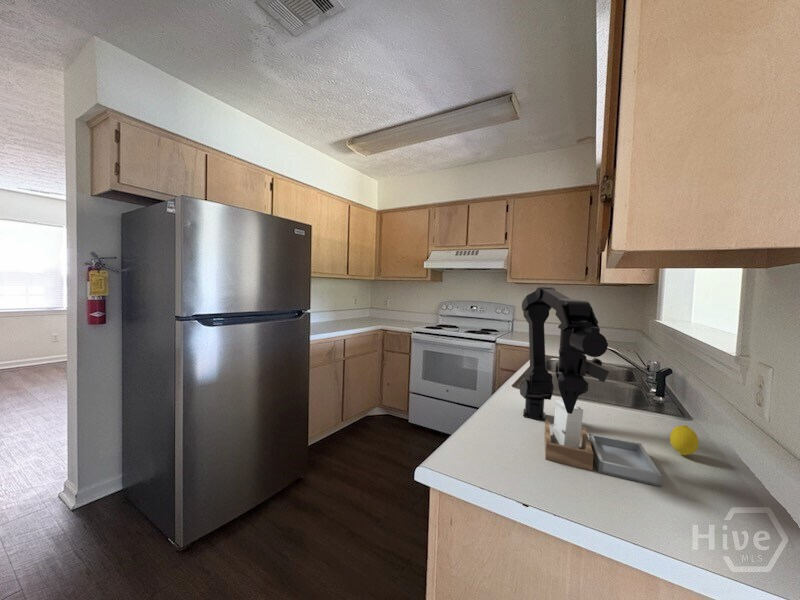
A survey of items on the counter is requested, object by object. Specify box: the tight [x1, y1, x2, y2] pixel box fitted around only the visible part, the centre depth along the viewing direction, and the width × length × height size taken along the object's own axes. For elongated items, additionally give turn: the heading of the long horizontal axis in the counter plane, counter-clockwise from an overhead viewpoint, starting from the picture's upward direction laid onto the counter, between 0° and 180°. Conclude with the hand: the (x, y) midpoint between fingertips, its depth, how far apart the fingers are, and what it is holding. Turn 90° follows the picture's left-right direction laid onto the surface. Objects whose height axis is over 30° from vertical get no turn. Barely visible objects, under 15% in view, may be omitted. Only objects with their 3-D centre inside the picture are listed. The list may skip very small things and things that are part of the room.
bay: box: [543, 419, 594, 471], centre depth 83 cm, size 16×10×4 cm, turn 156°
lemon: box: [669, 424, 700, 457], centre depth 82 cm, size 6×6×8 cm
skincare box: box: [551, 399, 584, 449], centre depth 83 cm, size 6×4×12 cm
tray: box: [588, 433, 663, 488], centre depth 78 cm, size 16×12×3 cm
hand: (567, 407), depth 83 cm, fingers open, 9 cm apart
